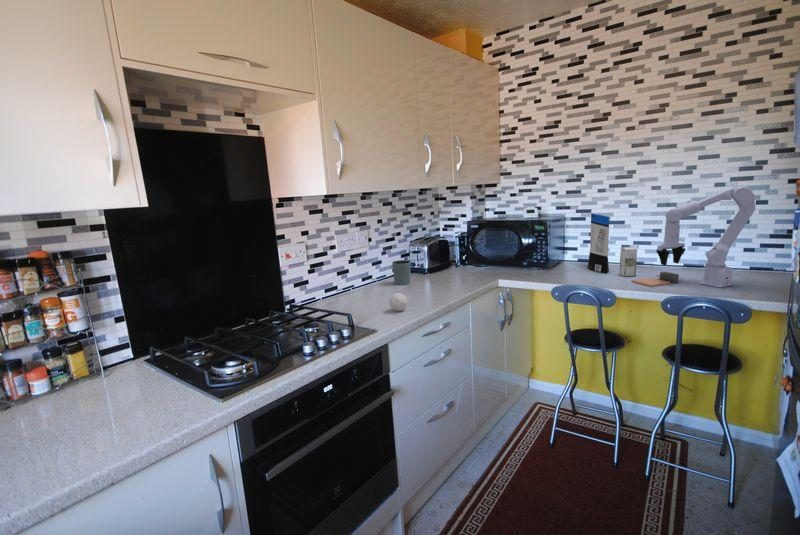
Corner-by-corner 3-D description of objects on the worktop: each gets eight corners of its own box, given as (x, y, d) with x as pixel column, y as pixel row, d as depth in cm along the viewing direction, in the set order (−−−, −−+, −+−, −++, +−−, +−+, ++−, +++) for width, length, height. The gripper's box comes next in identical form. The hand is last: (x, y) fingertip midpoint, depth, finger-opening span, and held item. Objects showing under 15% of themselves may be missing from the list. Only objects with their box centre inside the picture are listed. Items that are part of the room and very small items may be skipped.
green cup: (400, 280, 233) (399, 259, 231) (415, 282, 227) (414, 260, 225) (389, 284, 225) (388, 262, 223) (405, 286, 219) (403, 264, 217)
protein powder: (597, 274, 219) (599, 217, 213) (581, 265, 243) (582, 213, 237) (616, 273, 218) (619, 216, 212) (598, 264, 242) (599, 212, 236)
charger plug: (680, 283, 193) (680, 274, 192) (674, 284, 192) (674, 275, 191) (660, 278, 203) (660, 270, 202) (654, 279, 202) (655, 271, 201)
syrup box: (630, 273, 215) (632, 246, 213) (636, 276, 210) (637, 248, 207) (619, 274, 216) (620, 246, 213) (624, 276, 210) (625, 248, 207)
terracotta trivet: (669, 284, 192) (670, 281, 192) (651, 287, 189) (651, 285, 189) (649, 279, 203) (649, 277, 202) (631, 282, 199) (631, 280, 199)
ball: (398, 318, 177) (390, 307, 172) (391, 307, 183) (383, 296, 178) (413, 307, 177) (405, 296, 172) (405, 297, 184) (397, 286, 178)
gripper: (675, 232, 198) (673, 260, 201) (652, 235, 194) (650, 264, 197) (689, 234, 191) (687, 263, 194) (665, 237, 187) (663, 266, 190)
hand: (669, 264), depth 195 cm, fingers open, 7 cm apart
